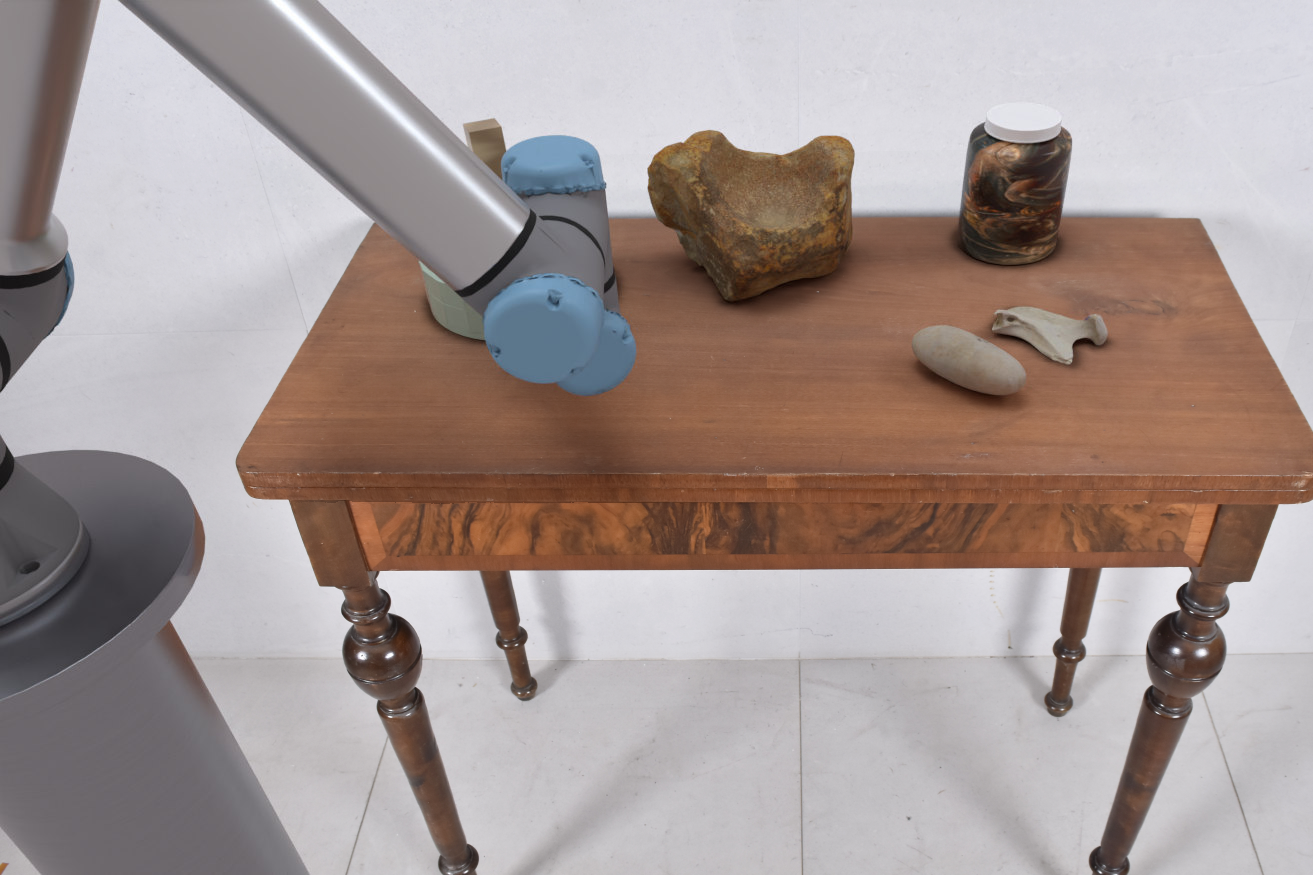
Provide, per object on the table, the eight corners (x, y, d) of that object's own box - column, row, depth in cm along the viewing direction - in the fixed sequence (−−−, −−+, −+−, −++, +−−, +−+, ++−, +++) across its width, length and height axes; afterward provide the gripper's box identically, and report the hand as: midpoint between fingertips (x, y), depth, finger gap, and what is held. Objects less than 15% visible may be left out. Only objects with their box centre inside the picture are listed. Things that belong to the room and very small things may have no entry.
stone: (928, 321, 108) (1040, 325, 101) (928, 384, 110) (1038, 391, 103) (898, 328, 104) (1013, 332, 97) (899, 392, 106) (1011, 401, 98)
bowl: (450, 359, 110) (438, 307, 106) (415, 272, 124) (403, 224, 120) (638, 315, 116) (632, 265, 112) (584, 237, 130) (577, 190, 126)
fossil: (1080, 371, 106) (1087, 342, 104) (984, 336, 111) (988, 307, 109) (1110, 341, 110) (1117, 312, 108) (1015, 309, 115) (1020, 280, 113)
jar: (947, 221, 131) (960, 98, 121) (1042, 217, 131) (1062, 94, 122) (967, 268, 122) (982, 139, 112) (1068, 263, 122) (1092, 134, 113)
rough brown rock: (653, 326, 115) (646, 200, 105) (650, 242, 127) (644, 121, 116) (867, 319, 117) (881, 195, 106) (845, 237, 129) (856, 118, 118)
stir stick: (502, 286, 113) (468, 132, 103) (496, 275, 115) (462, 123, 106) (532, 279, 114) (501, 126, 104) (525, 268, 116) (494, 118, 106)
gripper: (463, 335, 96) (416, 228, 113) (635, 295, 101) (566, 198, 117) (446, 259, 91) (399, 159, 108) (627, 221, 96) (556, 131, 113)
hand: (486, 180), depth 113 cm, fingers closed on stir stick, 3 cm apart
